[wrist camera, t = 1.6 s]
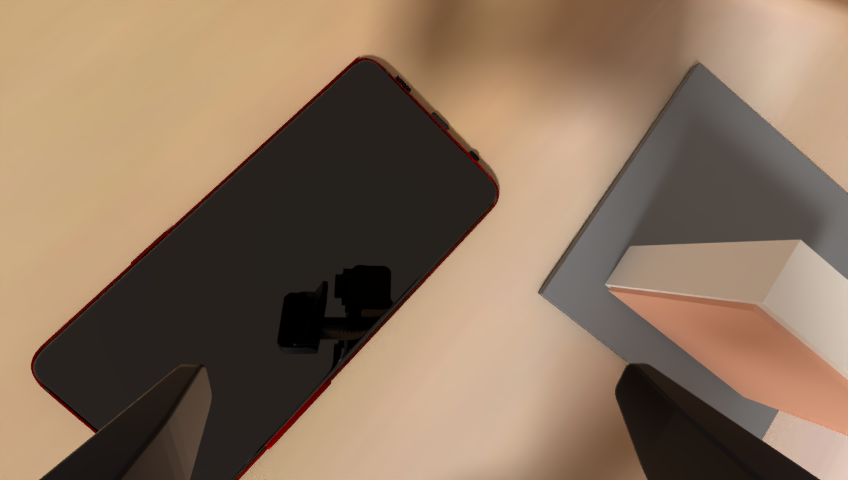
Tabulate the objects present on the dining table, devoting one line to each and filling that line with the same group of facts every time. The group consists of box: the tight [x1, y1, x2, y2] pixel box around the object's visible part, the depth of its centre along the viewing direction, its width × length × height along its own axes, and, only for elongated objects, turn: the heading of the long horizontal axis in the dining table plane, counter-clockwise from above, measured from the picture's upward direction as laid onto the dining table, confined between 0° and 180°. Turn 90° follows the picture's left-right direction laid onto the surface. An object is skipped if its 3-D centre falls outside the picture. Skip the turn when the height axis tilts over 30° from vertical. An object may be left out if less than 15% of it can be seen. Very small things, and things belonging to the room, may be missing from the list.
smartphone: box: [31, 58, 499, 480], centre depth 23 cm, size 12×2×25 cm
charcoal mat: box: [538, 63, 848, 440], centre depth 27 cm, size 19×18×1 cm
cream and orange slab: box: [605, 240, 848, 436], centre depth 21 cm, size 3×12×10 cm, turn 53°
